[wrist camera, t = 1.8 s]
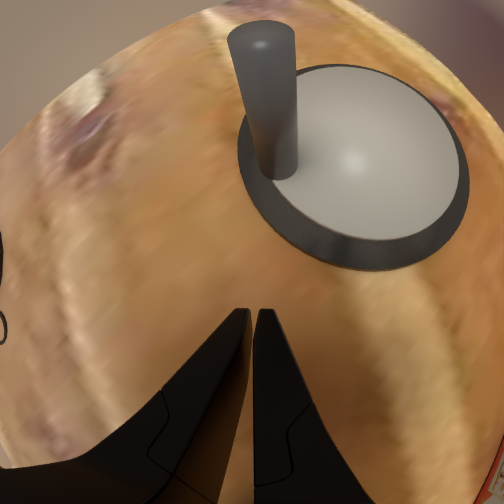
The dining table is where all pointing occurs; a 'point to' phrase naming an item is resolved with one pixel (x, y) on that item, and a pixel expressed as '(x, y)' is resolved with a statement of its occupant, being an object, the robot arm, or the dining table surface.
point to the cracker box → (494, 482)
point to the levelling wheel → (343, 140)
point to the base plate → (339, 247)
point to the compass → (0, 265)
